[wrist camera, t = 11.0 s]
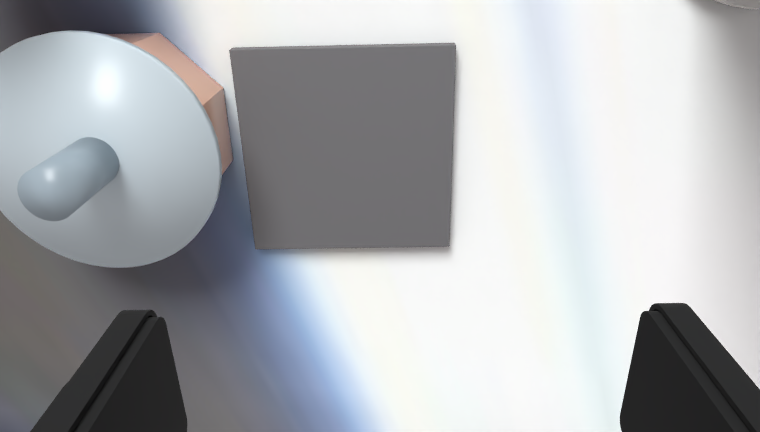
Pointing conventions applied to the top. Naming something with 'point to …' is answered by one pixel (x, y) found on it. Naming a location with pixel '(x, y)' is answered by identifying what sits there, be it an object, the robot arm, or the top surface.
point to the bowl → (190, 84)
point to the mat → (347, 143)
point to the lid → (103, 150)
